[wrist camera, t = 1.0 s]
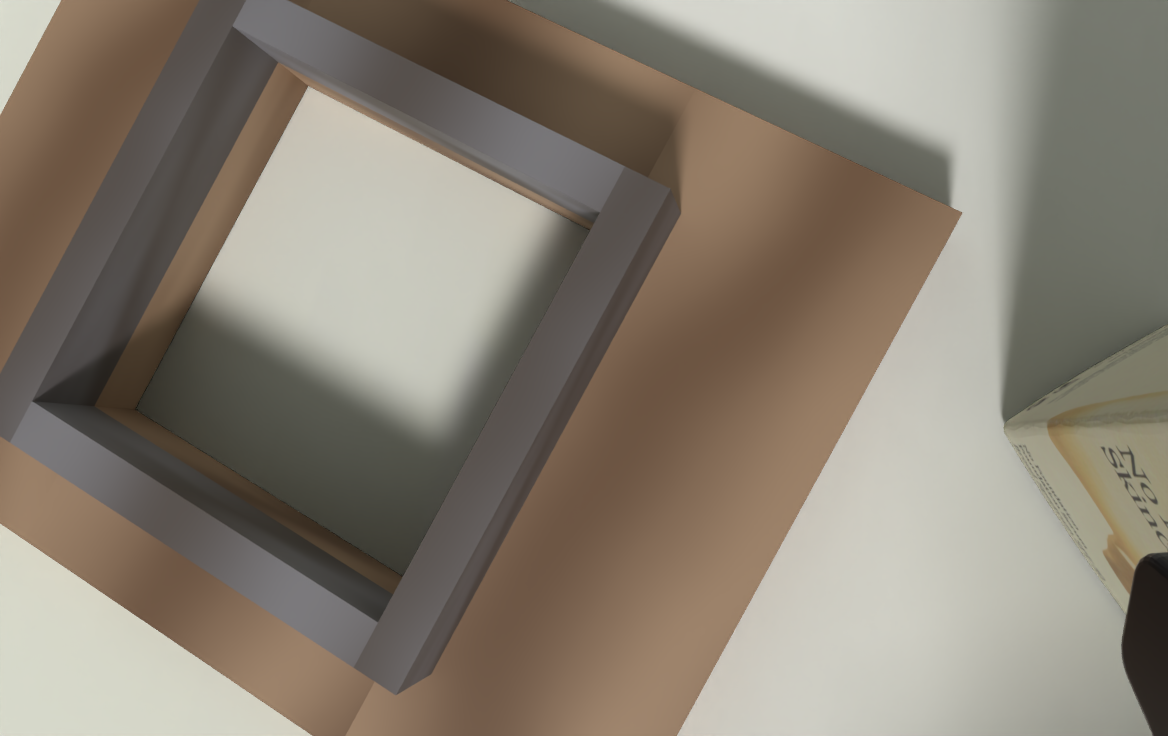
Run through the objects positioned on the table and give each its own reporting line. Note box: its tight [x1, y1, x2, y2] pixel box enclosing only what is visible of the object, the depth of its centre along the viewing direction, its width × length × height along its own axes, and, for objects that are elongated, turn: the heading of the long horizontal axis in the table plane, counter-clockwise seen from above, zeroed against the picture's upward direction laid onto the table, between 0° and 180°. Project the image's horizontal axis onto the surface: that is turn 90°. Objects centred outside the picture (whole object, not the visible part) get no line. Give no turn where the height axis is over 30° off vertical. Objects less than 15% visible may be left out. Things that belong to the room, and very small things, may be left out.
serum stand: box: [0, 0, 962, 736], centre depth 22 cm, size 21×16×4 cm
